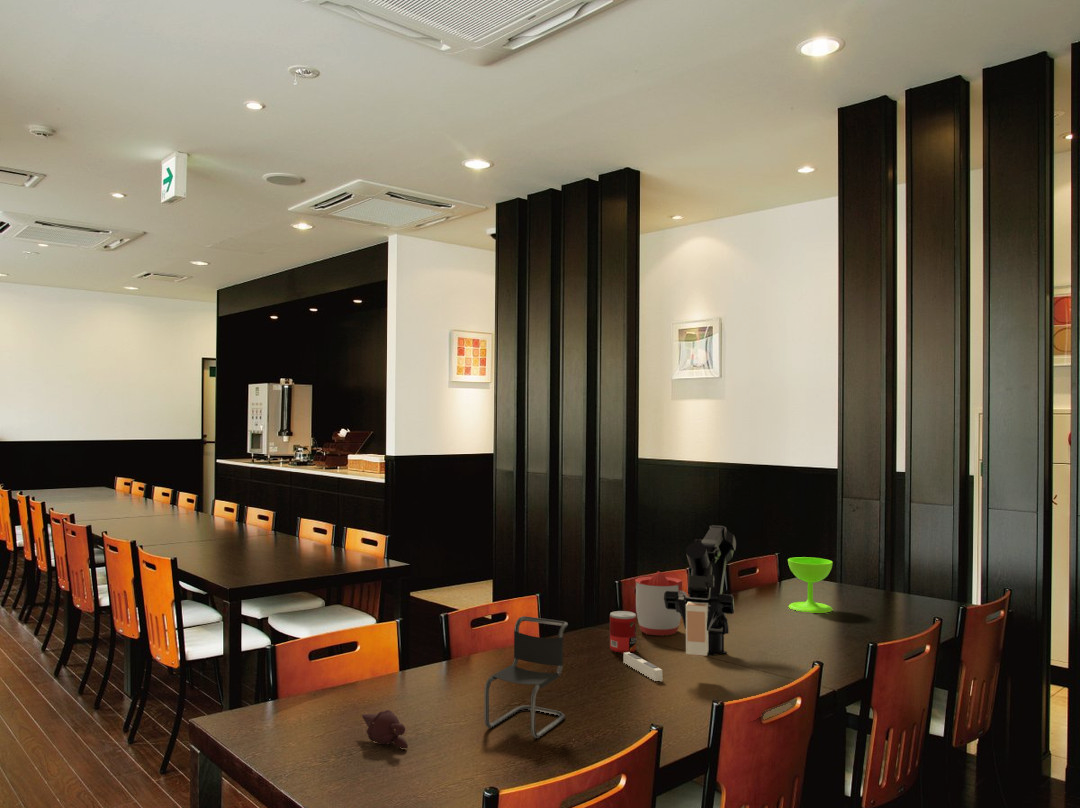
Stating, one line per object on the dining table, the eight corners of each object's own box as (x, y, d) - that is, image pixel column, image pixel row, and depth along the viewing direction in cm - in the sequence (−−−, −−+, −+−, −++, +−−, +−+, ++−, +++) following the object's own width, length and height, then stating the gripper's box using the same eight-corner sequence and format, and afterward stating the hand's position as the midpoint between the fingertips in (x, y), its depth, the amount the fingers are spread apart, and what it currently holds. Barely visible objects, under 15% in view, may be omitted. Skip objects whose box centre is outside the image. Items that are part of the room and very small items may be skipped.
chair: (570, 716, 184) (570, 621, 185) (534, 742, 169) (534, 639, 169) (521, 707, 190) (522, 615, 191) (482, 731, 175) (483, 631, 175)
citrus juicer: (684, 640, 250) (684, 577, 251) (630, 635, 256) (630, 573, 257) (691, 628, 265) (691, 569, 266) (640, 624, 271) (640, 566, 271)
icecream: (346, 709, 170) (388, 734, 160) (374, 693, 175) (416, 715, 165) (351, 738, 171) (393, 764, 161) (378, 720, 177) (421, 744, 167)
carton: (687, 649, 216) (687, 601, 216) (708, 651, 214) (708, 602, 215) (685, 653, 212) (685, 604, 212) (706, 655, 210) (706, 606, 210)
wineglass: (839, 614, 287) (839, 564, 288) (795, 613, 288) (795, 564, 288) (824, 604, 303) (824, 557, 304) (782, 604, 304) (782, 557, 304)
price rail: (629, 662, 227) (629, 651, 227) (662, 681, 210) (662, 669, 210) (623, 663, 226) (623, 652, 226) (655, 682, 209) (655, 669, 209)
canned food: (635, 654, 235) (635, 617, 235) (608, 652, 236) (608, 616, 237) (637, 647, 242) (637, 611, 243) (611, 646, 244) (611, 610, 244)
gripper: (664, 561, 220) (658, 609, 210) (733, 565, 215) (730, 615, 204) (669, 584, 228) (663, 632, 217) (735, 588, 222) (732, 638, 211)
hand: (696, 628), depth 212 cm, fingers closed on carton, 5 cm apart
